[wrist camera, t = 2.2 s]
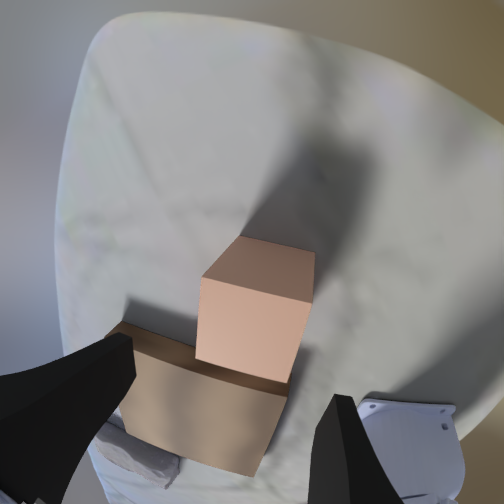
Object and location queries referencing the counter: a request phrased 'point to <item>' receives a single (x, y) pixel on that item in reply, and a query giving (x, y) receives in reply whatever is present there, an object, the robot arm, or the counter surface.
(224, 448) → the walnut base
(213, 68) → the counter surface
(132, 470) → the stone block
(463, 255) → the counter surface
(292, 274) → the terracotta block
